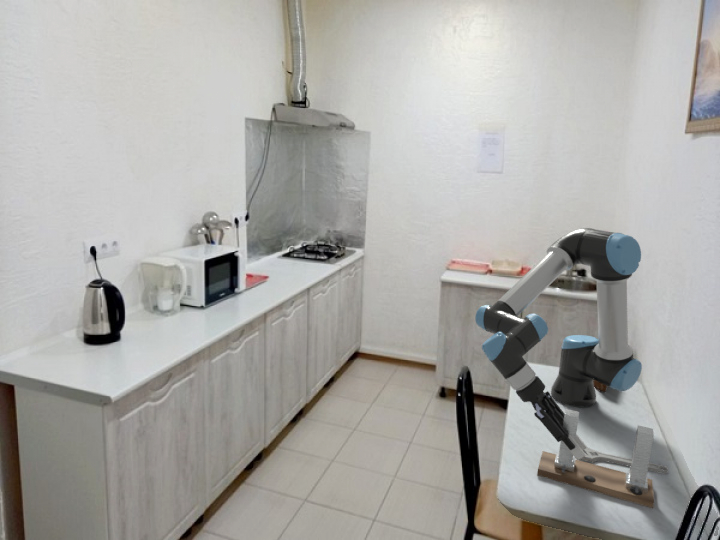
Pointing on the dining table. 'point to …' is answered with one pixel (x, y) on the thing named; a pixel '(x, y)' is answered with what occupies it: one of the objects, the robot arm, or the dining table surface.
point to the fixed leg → (640, 460)
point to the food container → (600, 386)
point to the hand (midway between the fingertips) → (581, 453)
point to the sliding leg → (564, 456)
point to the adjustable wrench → (618, 460)
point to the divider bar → (595, 479)
